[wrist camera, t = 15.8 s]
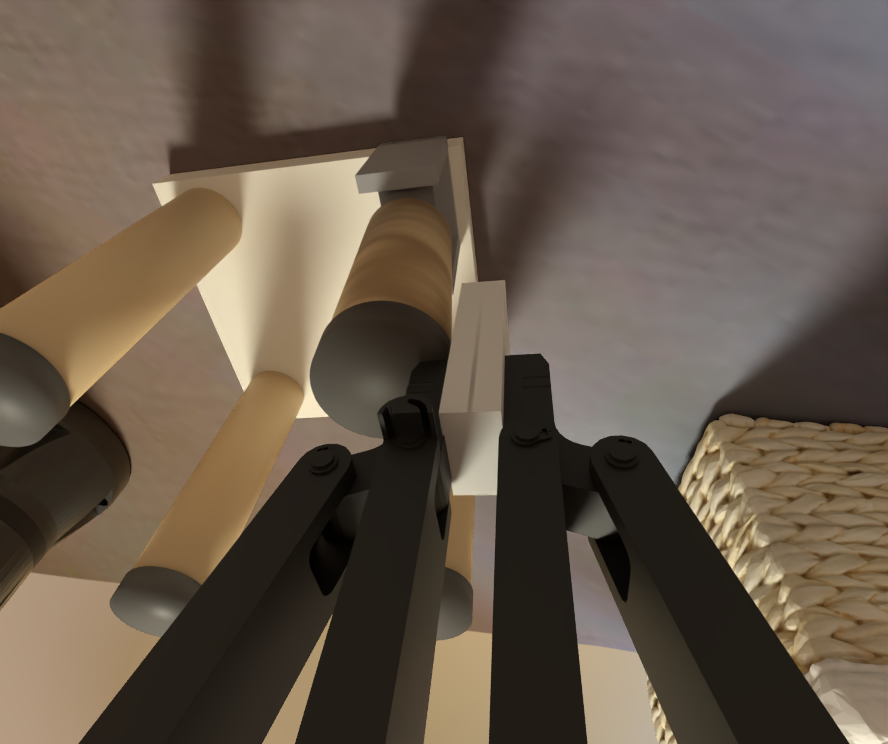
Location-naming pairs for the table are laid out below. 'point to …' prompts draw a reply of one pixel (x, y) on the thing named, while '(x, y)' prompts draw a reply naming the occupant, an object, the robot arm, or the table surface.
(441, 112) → the table surface
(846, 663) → the basket
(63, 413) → the stool seat
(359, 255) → the hinged leg
